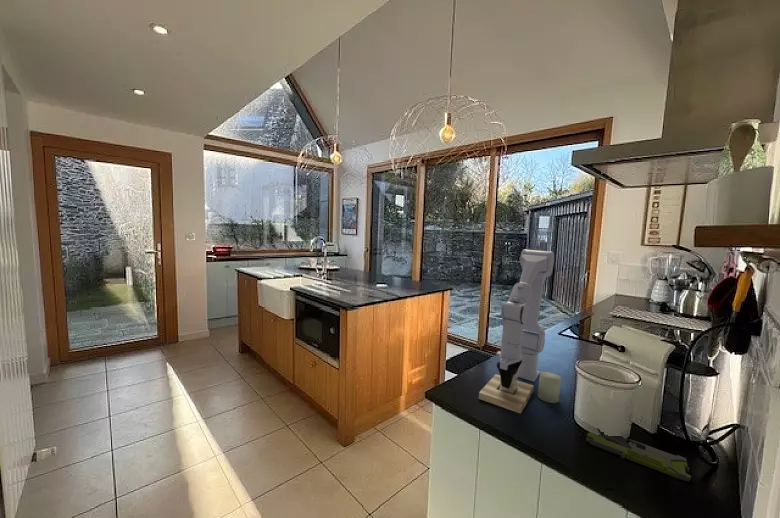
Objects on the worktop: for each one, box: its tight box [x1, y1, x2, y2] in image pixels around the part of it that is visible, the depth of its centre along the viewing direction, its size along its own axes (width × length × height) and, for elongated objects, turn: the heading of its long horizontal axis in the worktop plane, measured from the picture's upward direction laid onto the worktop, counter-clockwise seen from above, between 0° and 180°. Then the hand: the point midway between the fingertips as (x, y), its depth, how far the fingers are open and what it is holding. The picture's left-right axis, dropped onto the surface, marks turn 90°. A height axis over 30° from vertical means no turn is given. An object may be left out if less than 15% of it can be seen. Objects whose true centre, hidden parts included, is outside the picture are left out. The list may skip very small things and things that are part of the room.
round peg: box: [536, 371, 562, 404], centre depth 100 cm, size 6×6×7 cm
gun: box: [585, 432, 692, 482], centre depth 79 cm, size 2×19×15 cm
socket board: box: [478, 373, 535, 415], centre depth 100 cm, size 16×12×2 cm
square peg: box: [500, 370, 519, 395], centre depth 100 cm, size 4×4×7 cm
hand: (507, 384), depth 100 cm, fingers closed on square peg, 4 cm apart
